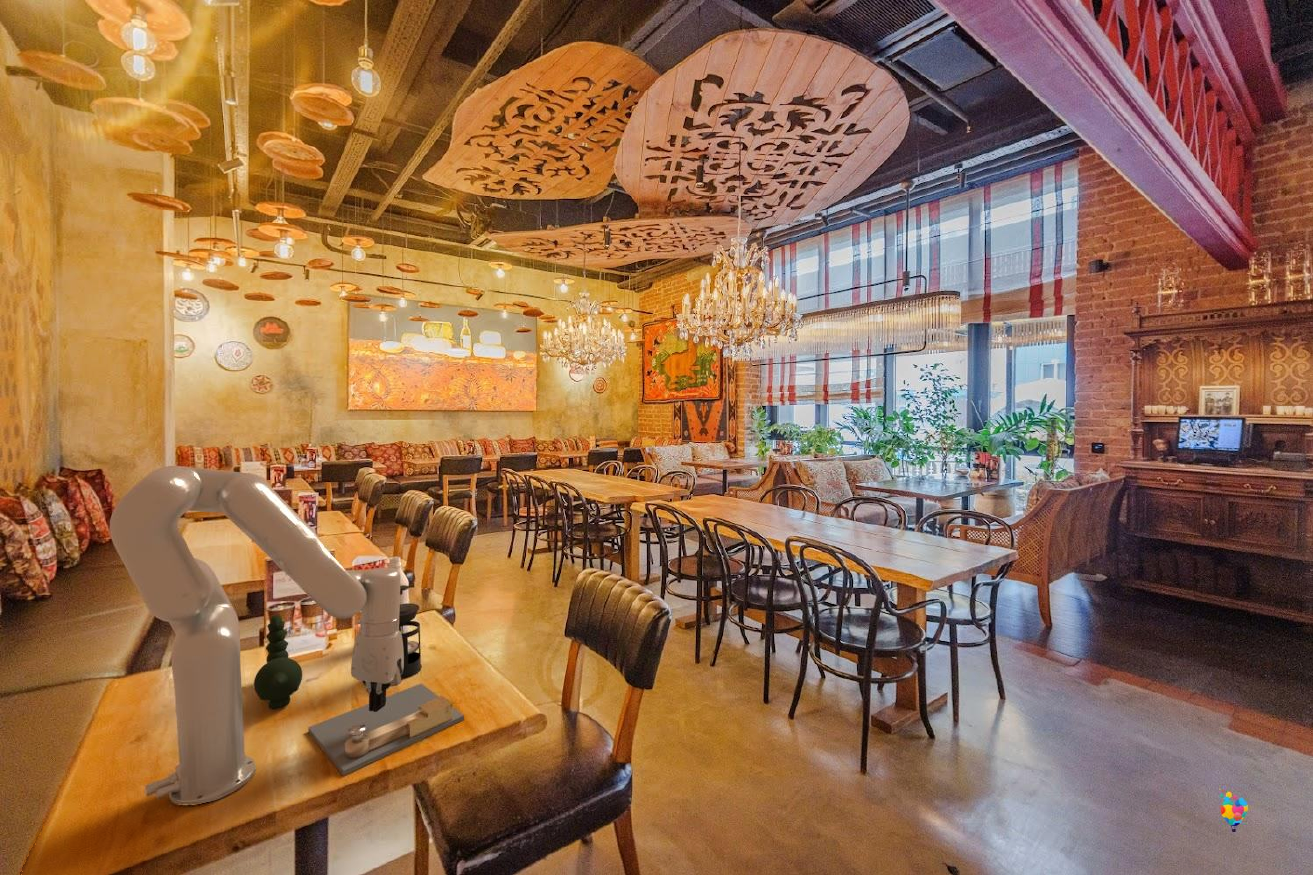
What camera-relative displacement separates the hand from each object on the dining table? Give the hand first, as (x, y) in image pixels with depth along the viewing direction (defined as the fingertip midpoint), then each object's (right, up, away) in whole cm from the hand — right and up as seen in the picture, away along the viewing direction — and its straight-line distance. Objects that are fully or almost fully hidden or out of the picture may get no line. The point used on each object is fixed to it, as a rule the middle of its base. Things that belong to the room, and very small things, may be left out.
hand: (377, 708), depth 120 cm
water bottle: (-17, -2, +46) cm, 49 cm away
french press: (-7, -3, +26) cm, 27 cm away
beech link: (+5, -4, -4) cm, 8 cm away
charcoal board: (+2, -5, +2) cm, 5 cm away
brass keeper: (+11, -4, 0) cm, 11 cm away
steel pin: (+1, -2, -9) cm, 9 cm away
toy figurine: (-31, -4, +14) cm, 34 cm away
